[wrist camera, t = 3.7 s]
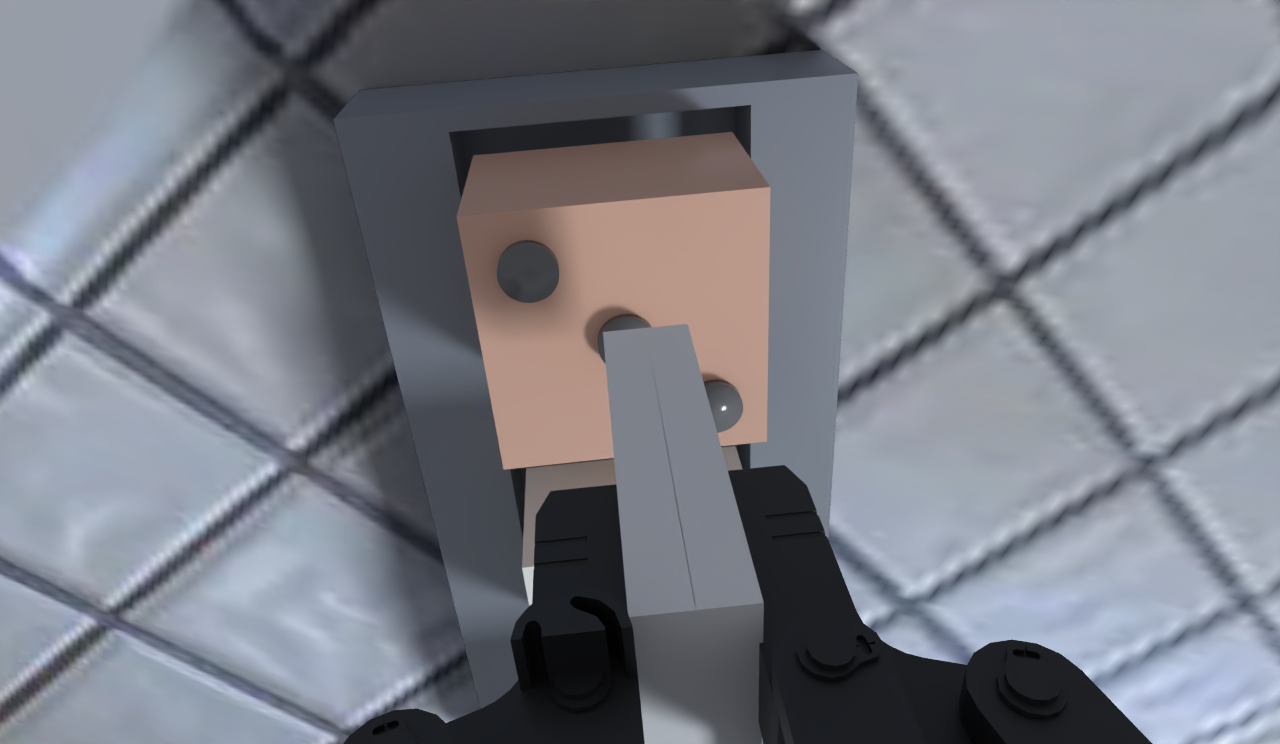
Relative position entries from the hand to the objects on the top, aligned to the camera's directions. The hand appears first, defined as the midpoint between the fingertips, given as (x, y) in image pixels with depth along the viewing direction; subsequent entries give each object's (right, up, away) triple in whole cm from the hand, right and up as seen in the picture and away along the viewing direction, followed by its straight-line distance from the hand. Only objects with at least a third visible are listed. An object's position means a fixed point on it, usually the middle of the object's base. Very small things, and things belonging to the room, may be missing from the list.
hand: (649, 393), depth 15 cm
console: (-1, -3, +13) cm, 13 cm away
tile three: (-1, +3, +6) cm, 7 cm away
